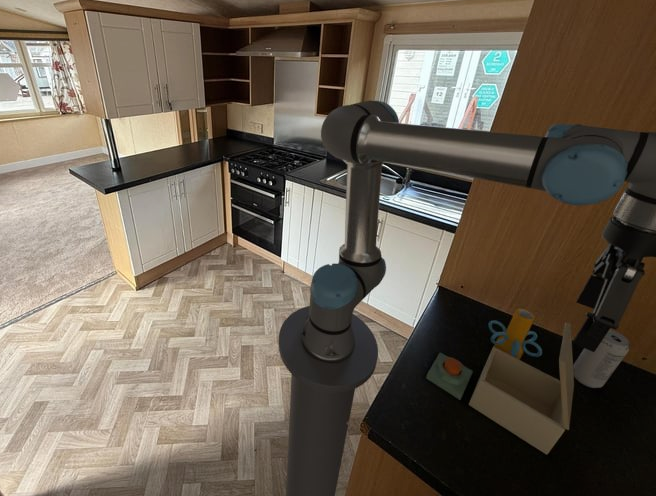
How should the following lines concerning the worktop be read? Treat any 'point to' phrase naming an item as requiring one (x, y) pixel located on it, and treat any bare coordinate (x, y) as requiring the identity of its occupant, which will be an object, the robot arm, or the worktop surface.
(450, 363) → the button
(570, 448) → the worktop surface
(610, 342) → the energy drink can
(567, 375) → the beige board
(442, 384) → the control block
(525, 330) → the cylinder
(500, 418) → the beige square box
